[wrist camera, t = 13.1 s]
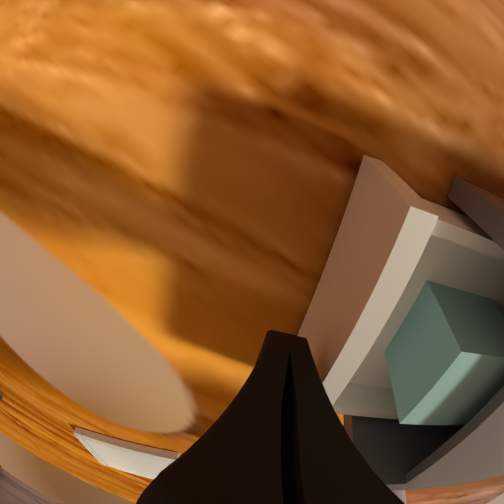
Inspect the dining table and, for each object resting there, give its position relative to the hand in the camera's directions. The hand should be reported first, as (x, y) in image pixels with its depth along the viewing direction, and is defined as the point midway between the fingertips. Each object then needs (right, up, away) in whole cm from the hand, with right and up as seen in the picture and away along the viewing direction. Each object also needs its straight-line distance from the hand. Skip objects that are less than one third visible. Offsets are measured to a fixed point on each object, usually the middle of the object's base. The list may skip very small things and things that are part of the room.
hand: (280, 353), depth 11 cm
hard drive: (-14, -19, +18) cm, 29 cm away
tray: (+10, 0, +4) cm, 11 cm away
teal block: (+8, 0, +3) cm, 9 cm away
